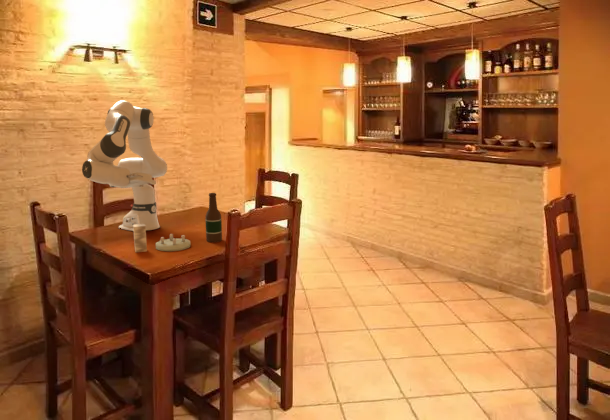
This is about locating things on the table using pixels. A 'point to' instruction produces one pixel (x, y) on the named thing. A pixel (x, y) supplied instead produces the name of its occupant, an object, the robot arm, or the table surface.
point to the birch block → (140, 237)
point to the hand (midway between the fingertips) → (148, 184)
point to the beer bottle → (213, 221)
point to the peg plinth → (170, 246)
